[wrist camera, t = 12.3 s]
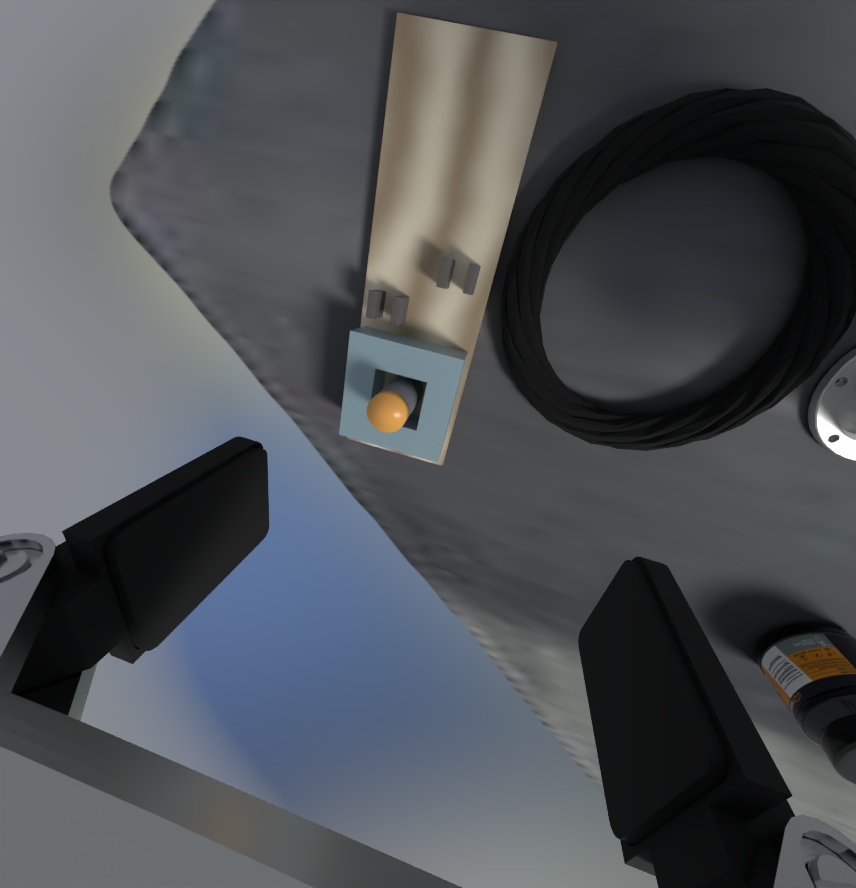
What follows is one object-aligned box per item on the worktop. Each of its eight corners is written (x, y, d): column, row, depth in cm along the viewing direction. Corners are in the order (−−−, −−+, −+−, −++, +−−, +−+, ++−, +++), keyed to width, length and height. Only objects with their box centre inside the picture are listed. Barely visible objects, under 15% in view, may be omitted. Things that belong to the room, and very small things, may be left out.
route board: (555, 52, 25) (564, 14, 22) (443, 461, 42) (438, 477, 38) (401, 23, 26) (386, -18, 23) (351, 434, 43) (337, 448, 39)
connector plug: (426, 378, 36) (409, 400, 29) (419, 409, 38) (401, 437, 31) (394, 369, 37) (369, 389, 30) (388, 400, 38) (364, 426, 31)
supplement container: (737, 634, 44) (812, 745, 34) (838, 608, 40) (961, 726, 29) (769, 682, 47) (848, 801, 36) (867, 663, 42) (991, 790, 32)
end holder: (468, 352, 35) (464, 360, 31) (443, 446, 39) (437, 462, 36) (365, 325, 35) (350, 330, 32) (353, 421, 40) (339, 434, 37)
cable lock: (463, 186, 27) (1003, -62, 18) (467, 197, 31) (924, -8, 22) (535, 480, 37) (913, 412, 28) (532, 464, 40) (868, 398, 31)
